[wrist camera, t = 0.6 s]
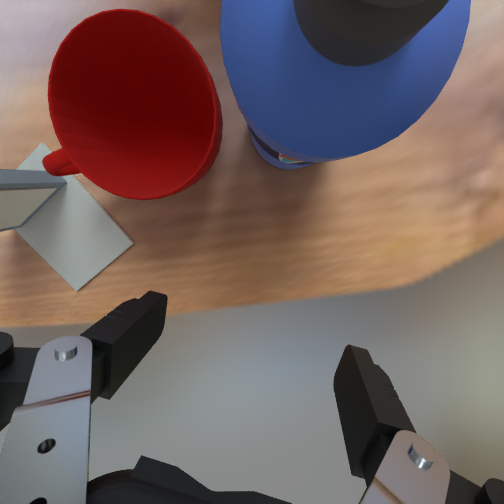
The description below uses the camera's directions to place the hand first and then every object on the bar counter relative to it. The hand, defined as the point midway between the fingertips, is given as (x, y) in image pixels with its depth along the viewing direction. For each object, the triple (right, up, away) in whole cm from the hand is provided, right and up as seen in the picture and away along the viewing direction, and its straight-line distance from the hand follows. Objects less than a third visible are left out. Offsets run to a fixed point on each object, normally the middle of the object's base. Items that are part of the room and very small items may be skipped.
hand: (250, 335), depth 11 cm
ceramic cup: (-10, +16, +18) cm, 26 cm away
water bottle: (+4, +17, +17) cm, 25 cm away
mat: (-24, +7, +21) cm, 33 cm away
